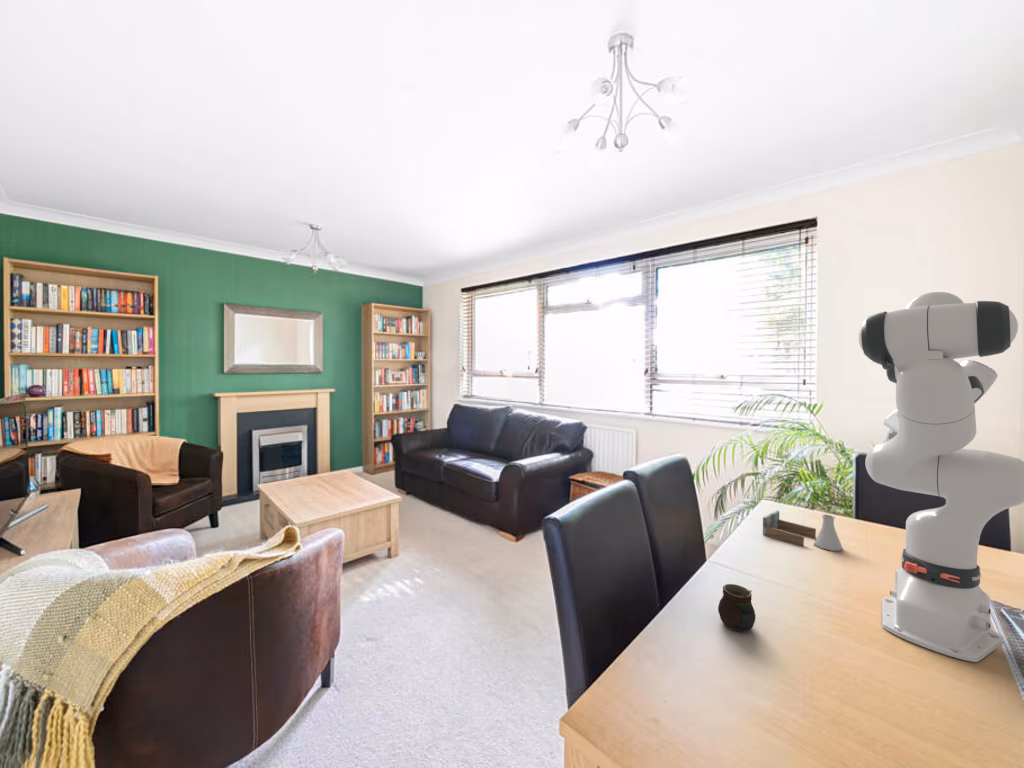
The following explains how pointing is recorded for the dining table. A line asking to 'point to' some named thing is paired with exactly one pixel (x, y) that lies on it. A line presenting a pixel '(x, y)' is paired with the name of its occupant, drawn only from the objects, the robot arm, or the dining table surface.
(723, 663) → the dining table surface
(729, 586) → the mate gourd
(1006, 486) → the robot arm
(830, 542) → the flask
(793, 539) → the slot bay
